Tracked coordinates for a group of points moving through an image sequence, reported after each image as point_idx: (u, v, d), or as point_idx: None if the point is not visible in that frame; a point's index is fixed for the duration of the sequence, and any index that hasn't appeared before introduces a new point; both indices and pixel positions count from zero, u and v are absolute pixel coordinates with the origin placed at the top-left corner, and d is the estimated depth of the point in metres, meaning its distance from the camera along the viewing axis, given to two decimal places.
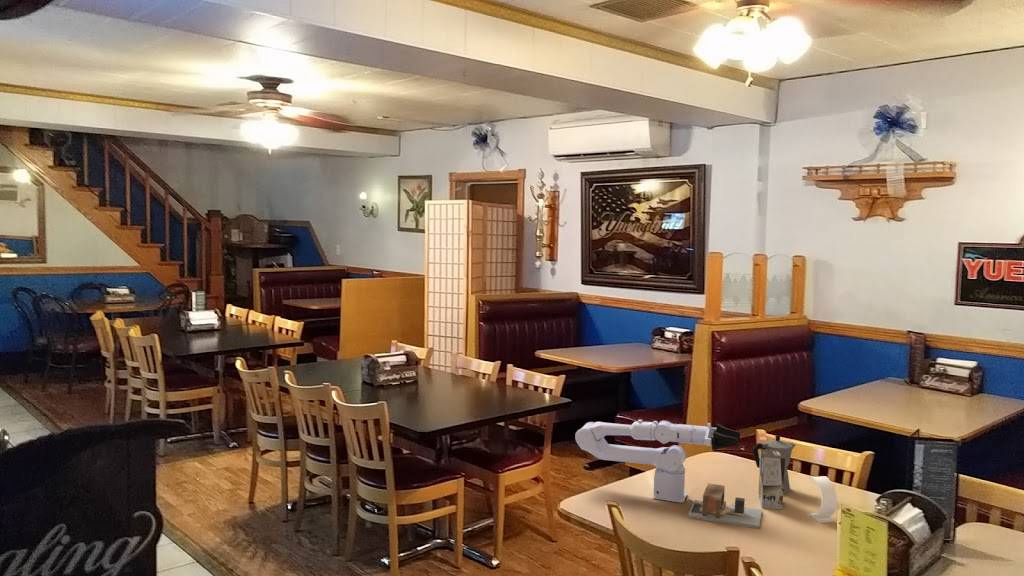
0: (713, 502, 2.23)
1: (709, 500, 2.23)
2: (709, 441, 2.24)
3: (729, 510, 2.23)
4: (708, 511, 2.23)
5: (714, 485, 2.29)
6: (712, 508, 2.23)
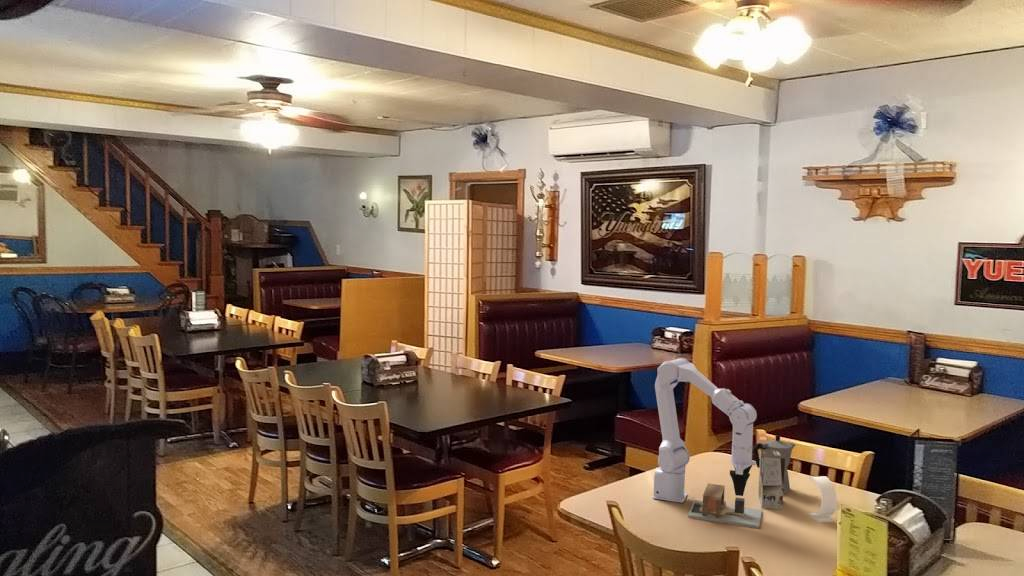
0: (713, 502, 2.23)
1: (709, 500, 2.23)
2: (740, 473, 2.14)
3: (729, 510, 2.23)
4: (708, 511, 2.23)
5: (714, 485, 2.29)
6: (712, 508, 2.23)
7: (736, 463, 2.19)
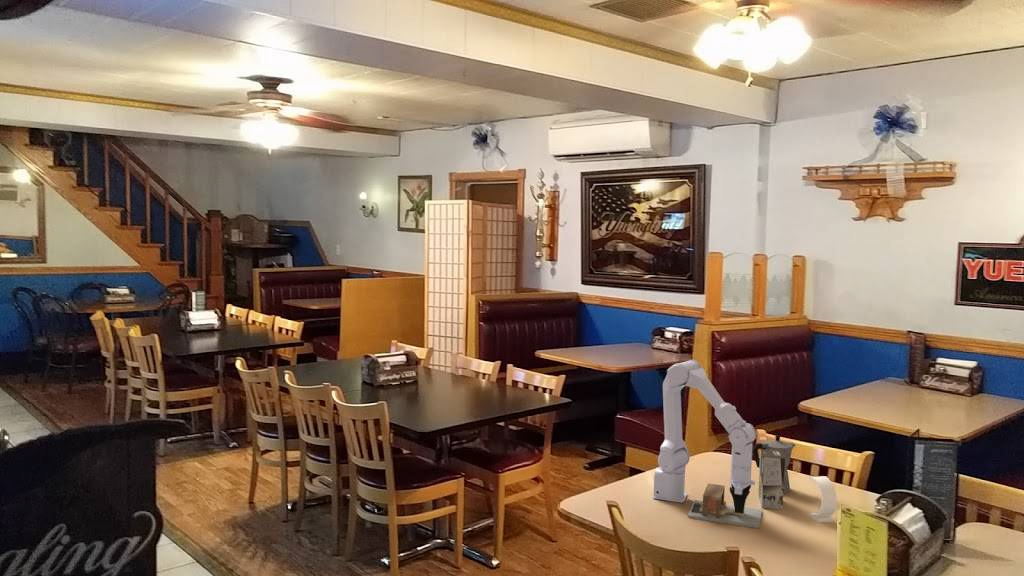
0: (713, 502, 2.23)
1: (709, 500, 2.23)
2: (739, 493, 2.15)
3: (729, 510, 2.23)
4: (708, 511, 2.23)
5: (714, 485, 2.29)
6: (712, 508, 2.23)
7: (735, 482, 2.19)
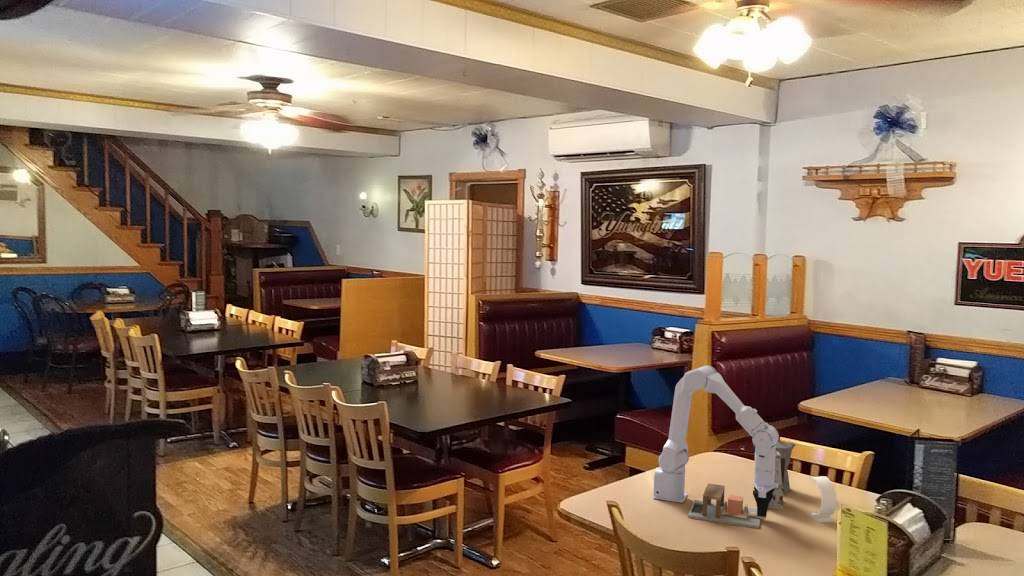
0: (735, 506, 2.21)
1: (731, 503, 2.21)
2: (763, 496, 2.12)
3: (751, 513, 2.21)
4: (730, 514, 2.20)
5: (714, 485, 2.29)
6: (734, 511, 2.21)
7: (758, 486, 2.17)
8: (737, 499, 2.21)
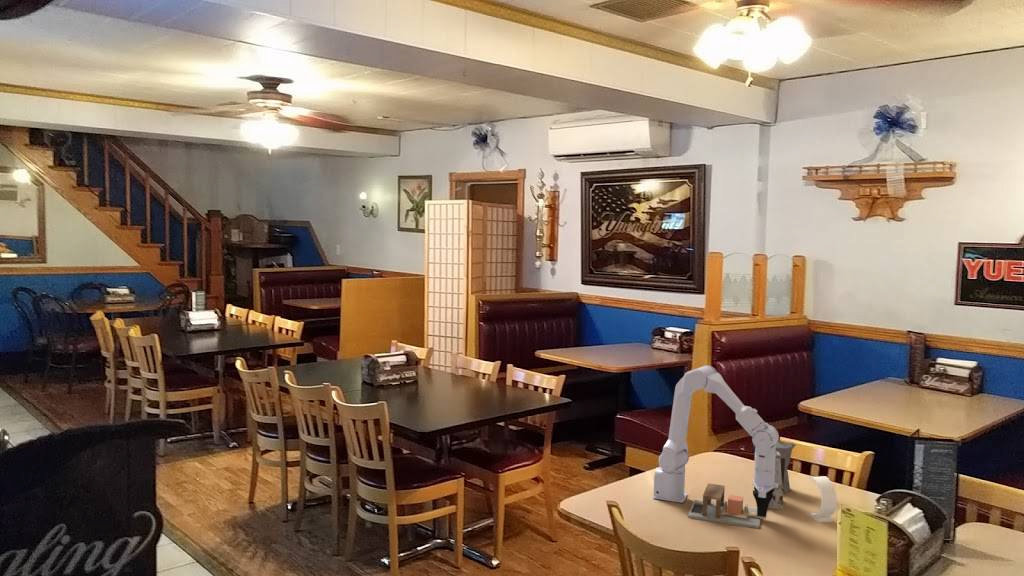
0: (735, 506, 2.21)
1: (731, 503, 2.21)
2: (763, 496, 2.12)
3: (751, 513, 2.21)
4: (730, 514, 2.20)
5: (714, 485, 2.29)
6: (734, 511, 2.21)
7: (758, 486, 2.17)
8: (737, 499, 2.21)
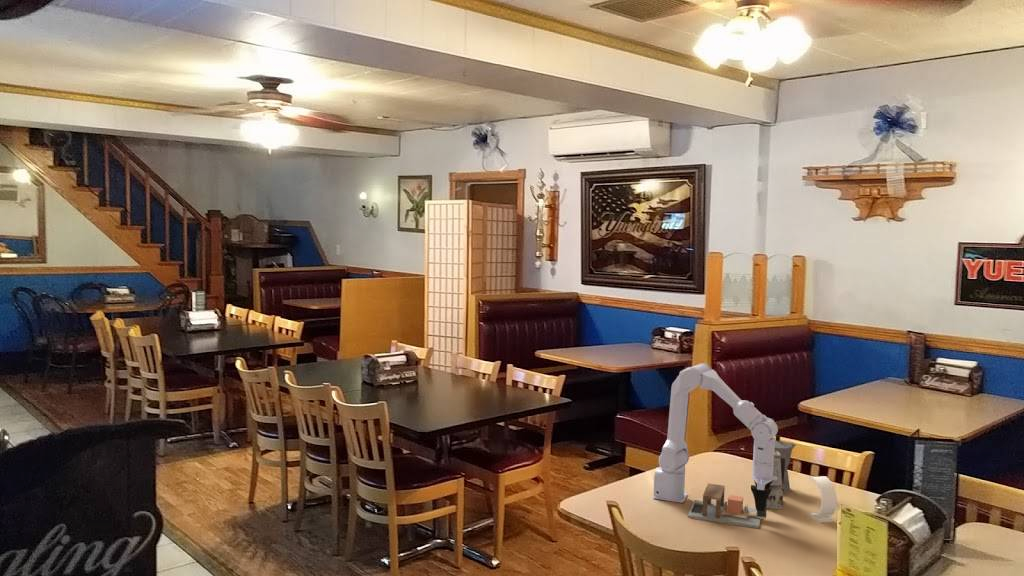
0: (735, 506, 2.21)
1: (731, 503, 2.21)
2: (761, 488, 2.12)
3: (751, 513, 2.21)
4: (730, 514, 2.20)
5: (714, 485, 2.29)
6: (734, 511, 2.21)
7: (757, 478, 2.17)
8: (737, 499, 2.21)
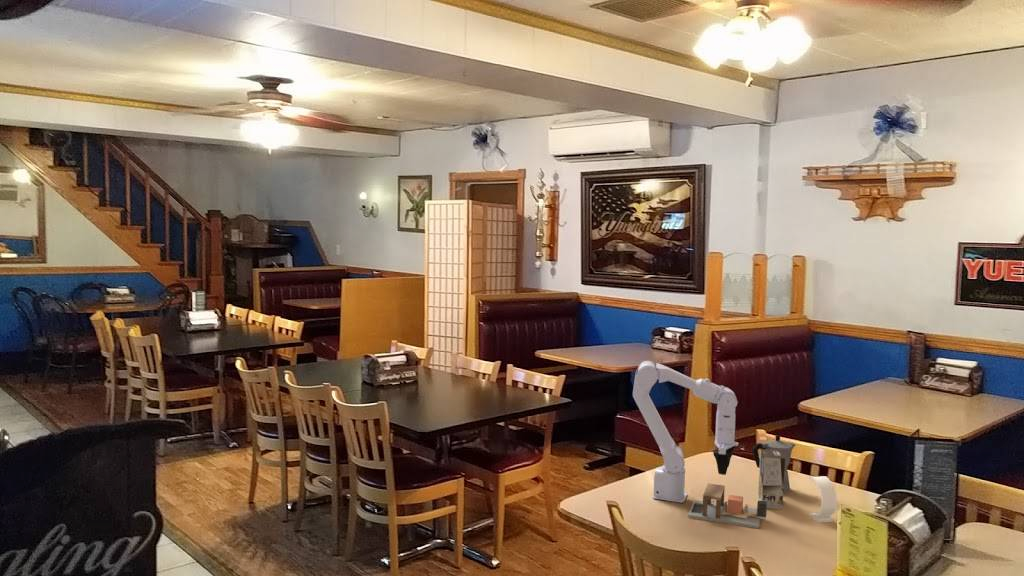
0: (735, 506, 2.21)
1: (731, 503, 2.21)
2: (723, 453, 2.26)
3: (751, 513, 2.21)
4: (730, 514, 2.20)
5: (714, 485, 2.29)
6: (734, 511, 2.21)
7: (719, 444, 2.31)
8: (737, 499, 2.21)
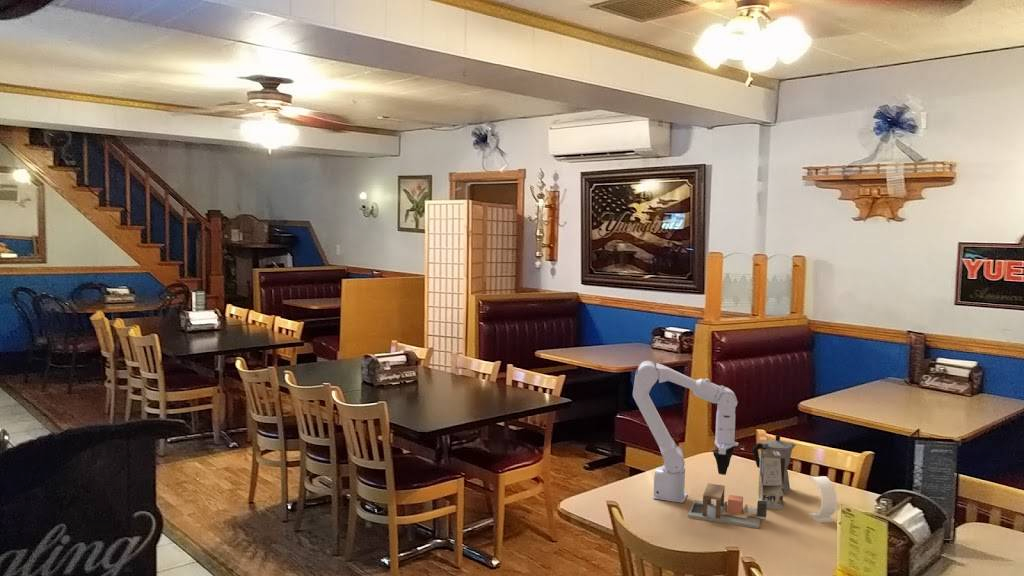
0: (735, 506, 2.21)
1: (731, 503, 2.21)
2: (723, 453, 2.26)
3: (751, 513, 2.21)
4: (730, 514, 2.20)
5: (714, 485, 2.29)
6: (734, 511, 2.21)
7: (719, 444, 2.31)
8: (737, 499, 2.21)
